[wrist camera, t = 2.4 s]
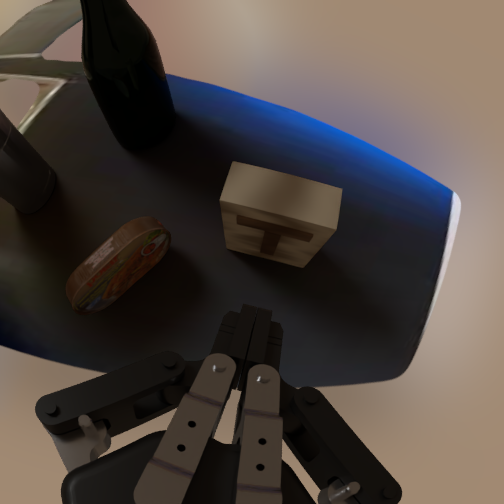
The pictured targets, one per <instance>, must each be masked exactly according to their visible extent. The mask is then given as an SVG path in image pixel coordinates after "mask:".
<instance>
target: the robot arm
mask: <svg viewBox="0 0 504 504" xmlns="http://www.w3.org/2000/svg"><path fill="white" fill-rule="evenodd" d="M55 179H56V177H55V172H54V170H53V169H52V168H51V167H50V166H49V164H48V163H47V162H46V161H45V160H44V159H43V158H42V157H41V155H40V154H39V153H38V152H37V151H36V150H35V149H34V148H33V147H32V146H31V144H30V143H29V142H28V141H27V140H26V139H25V138H24V136H23V135H22V134H21V133H20V132H19V131H18V130H17V128H16V127H15V126H14V125H13V124H12V123H11V122H10V120H9V119H8V118H7V117H6V116H5V114H4V113H3V112H2V111H1V109H0V197H1V198H3V199H4V200H6V201H7V202H8V203H10V204H11V205H12V206H14V207H15V208H17V209H18V210H19V211H21V212H22V213H25V214H30V213H34V212H35V211H37V210H39V209H40V208H41V207H42V206H43V205H44V204H45V203H46V202H47V200H48V199H49V198H50V196H51V194H52V192H53V189H54V186H55ZM256 310H257V307H254V306H250V305H246V304H243V306H242V309H241V312H240V313H237V312H233V311H230V312H228V313H227V314H226V315H225V316H224V317H223V320H222V323H221V325H220V328H219V331H218V334H217V337H216V339H215V342H214V345H213V348H212V350H211V353H210V354H209V356H208V357H207V358H205V359H203V360H200V361H184V359H183V358H182V357H181V356H180V355H179V354H177V353H174V352H170V351H165V352H161V353H159V354H156V355H154V356H151V357H149V358H146V359H144V360H141V361H139V362H136V363H133V364H131V365H128V366H126V367H123V368H121V369H118V370H115V371H113V372H110V373H107V374H105V375H102V376H99V377H96V378H94V379H91V380H88V381H86V382H83V383H80V384H77V385H74V386H71V387H68V388H65V389H63V390H60V391H57V392H54V393H51V394H48V395H45V396H43V397H41V398H40V399H39V400H38V401H37V403H36V406H35V412H36V415H37V417H38V418H39V420H40V421H41V422H42V424H43V426H44V428H45V429H46V430H47V432H48V433H49V434H50V435H51V437H52V439H53V441H54V443H55V446H56V448H57V450H58V452H59V454H60V457H61V459H62V461H63V463H64V465H65V467H66V468H67V471H68V474H67V475H66V477H65V478H64V480H63V483H62V487H61V497H62V503H63V504H316V503H315V501H314V500H313V499H312V497H311V496H310V494H309V493H308V491H307V490H306V489H305V487H304V486H303V484H302V483H301V481H300V480H299V478H298V477H297V476H296V474H295V472H294V471H293V470H292V468H291V467H290V466H289V465H288V464H286V463H285V462H284V461H283V460H282V458H281V457H282V439H283V440H284V441H285V443H286V444H287V446H288V447H289V448H290V450H291V451H292V453H293V454H294V455H295V457H296V458H297V459H298V461H299V462H300V464H301V465H302V466H303V468H304V469H305V470H306V472H307V473H308V474H309V475H310V477H311V478H312V480H313V481H314V482H315V484H316V485H317V486H318V488H319V489H320V490H321V491H320V493H319V495H318V504H398V502H399V501H400V500H401V497H402V489H401V487H400V485H399V484H398V482H397V481H396V480H395V479H394V478H393V477H392V476H391V474H390V473H389V472H388V471H387V470H386V469H385V468H384V467H383V465H382V464H381V463H380V462H379V461H378V460H377V459H376V457H375V456H374V455H373V454H372V453H371V452H370V450H369V449H368V448H367V447H366V446H365V445H364V443H363V442H362V441H361V440H360V439H359V438H358V436H357V435H356V434H355V433H354V432H353V430H352V429H351V428H350V427H349V426H348V425H347V423H346V422H345V421H344V420H343V418H342V417H341V416H340V415H339V414H338V412H337V411H336V410H335V409H334V408H333V406H332V405H331V404H330V403H329V402H328V400H327V399H326V398H325V397H324V395H323V394H322V393H321V392H320V391H319V390H317V389H315V388H313V387H302V388H300V389H296V388H294V387H292V386H290V385H288V384H287V383H286V382H284V381H283V379H282V378H281V376H280V374H279V364H280V356H281V346H282V338H283V329H282V327H281V325H280V323H277V322H272V321H271V316H272V311H270V310H266V309H262V308H258V310H257V314H256ZM255 314H256V317H255ZM254 318H255V321H254ZM253 323H254V324H253ZM252 327H253V328H252ZM242 367H243V368H242ZM241 371H242V372H241ZM240 374H241V377H240ZM239 377H240V381H239ZM238 381H239V385H238V389H237V390H239V391H242V392H241V396H240V400H239V403H238V407H237V414H236V422H235V428H234V436H233V441H232V444H223V443H221V442H219V441H217V440H215V439H213V438H214V435H215V432H216V429H217V427H218V424H219V422H220V419H221V416H222V414H223V411H224V408H225V405H226V403H227V401H228V399H229V397H230V394H231V391H232V389H234V390H236V387H237V384H238ZM177 407H178V408H177ZM175 408H177V410H176V412H175V415H174V416H173V418H172V420H171V422H170V424H169V426H168V428H167V430H163V431H158V432H154V433H151V434H148V435H146V436H144V437H142V438H140V439H138V440H136V441H135V442H132V443H130V444H128V445H126V446H124V447H122V448H120V449H118V450H116V451H113V452H111V453H109V454H107V455H105V456H103V457H100V458H98V457H99V456H100V455H101V454H103V453H104V452H106V451H107V450H108V449H109V448H110V445H111V437H114V436H116V435H118V434H121V433H123V432H125V431H128V430H130V429H132V428H135V427H137V426H139V425H141V424H143V423H146V422H148V421H150V420H152V419H154V418H156V417H159V416H161V415H163V414H165V413H167V412H169V411H171V410H173V409H175Z"/></svg>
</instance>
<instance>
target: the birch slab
mask: <svg viewBox="0 0 504 504" xmlns="http://www.w3.org/2000/svg"><path fill="white" fill-rule="evenodd" d="M341 195H342V189H340V188H337V187H333V186H330V185H326V184H323V183H319V182H316V181H312V180H308V179H305V178H301V177H297V176H293V175H289V174H286V173H282V172H278V171H274V170H269V169H265V168H261V167H257V166H252V165H248V164H244V163H239V162H234V161H233V162H232V165H231V168H230V171H229V174H228V177H227V180H226V182H225V185H224V188H223V191H222V194H221V197H220V206H221V213H222V220H223V227H224V234H225V241H226V248H227V249H230V250H234V251H238V252H242V253H246V254H250V255H254V256H258V257H262V258H266V259H270V260H274V261H277V262H281V263H285V264H289V265H293V266H297V267H301V268H304V267H305V266H306V264H307V263H308V262H309V261H310V260H311V259H312V258H313V256H314V255H315V254H316V253H317V252H318V251H319V250H320V248H321V247H322V246H323V245H324V244H325V243H326V241H327V240H328V239H329V238H330V237H331V236H332V234H333V233H334V232H335V231H336V230H337V223H338V217H339V210H340V203H341Z"/></svg>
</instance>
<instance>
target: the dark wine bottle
mask: <svg viewBox="0 0 504 504" xmlns="http://www.w3.org/2000/svg"><path fill="white" fill-rule="evenodd" d="M80 3H81V9H82V18H83V31H82V53H81V54H82V55H81V56H82V57H81V58H82V63H83V68H84V72H85V75H86V77H87V80H88V83H89V85H90V88H91V90H92V92H93V94H94V96H95V98H96V101H97V103H98V105H99V107H100V109H101V111H102V113H103V115H104V117H105V119H106V121H107V123H108V125H109V127H110V129H111V131H112V133H113V135H114V136H115V138H116V139H117V141H118V142H119V144H121V145H122V146H123V147H126V148H128V149H133V150H141V149H146V148H149V147H152V146H154V145H156V144H158V143H160V142H161V141H163V140H164V139H165V138H166V137H167V136H168V135H169V134H170V133H171V131H172V130H173V128H174V126H175V122H176V113H175V109H174V105H173V101H172V97H171V93H170V89H169V86H168V82H167V78H166V74H165V71H164V67H163V64H162V60H161V56H160V53H159V50H158V46H157V43H156V40H155V38H154V36H153V34H152V32H151V30H150V29H149V27H147V25H146V24H145V23H144V22H143V20H142V19H141V18H140V17H139V16H138V14H136V12H135V11H134V10H133V9H132V7H131V6H130V5H129V4H128V2H127V1H126V0H80Z"/></svg>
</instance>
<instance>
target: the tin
mask: <svg viewBox="0 0 504 504" xmlns="http://www.w3.org/2000/svg"><path fill="white" fill-rule="evenodd" d="M170 243H171V234H170V232H169V231H168V230H166V229H165V228H164V227H163V225H162V224H161V223H160V222H159V221H158V220H157V219H155V218H153V217H148V216H146V217H140V218H136V219H134V220H132V221H130V222H128V223H126V224H125V225H123V226H122V227H121V228H119V229H118V230H117V231H116V232H115V233H114V234H112V235H111V236H110V237H109V238H108V239H107V240H106V241H105V242H104V243H102V244H101V245H100V246H99V247H98V248H97V249H96V250H95V251H94V252H93V253H92V254H91V255H90V256H89V257H87V258H86V259H85V260H84V261H83V262H82V263H81V264H80V265H79V266H78V267H77V268H76V269H75V270H74V271H73V273H72V274H71V275H70V277H69V278H68V280H67V283H66V288H65V291H66V295H67V297H68V299H69V301H70V303H71V305H72V308H73V310H74V311H75V312H76V313H77V314H80V315H88V314H93V313H96V312H98V311H101V310H103V309H104V308H106V307H108V306H109V305H111V304H112V303H113V302H114V301H116V300H117V299H118V298H119V297H120V296H121V295H122V294H123V293H124V292H126V291H127V290H128V289H129V288H130V287H131V286H132V285H133V284H134V283H136V282H137V281H138V280H139V279H140V278H141V277H142V276H144V275H145V274H146V273H147V272H148V271H149V270H150V269H151V268H153V267H154V266H155V265H156V264H157V263H158V262H159V261H160V260H161V259H162V257H163V256H164V255H165V254H166V252H167V250H168V248H169V246H170Z"/></svg>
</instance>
